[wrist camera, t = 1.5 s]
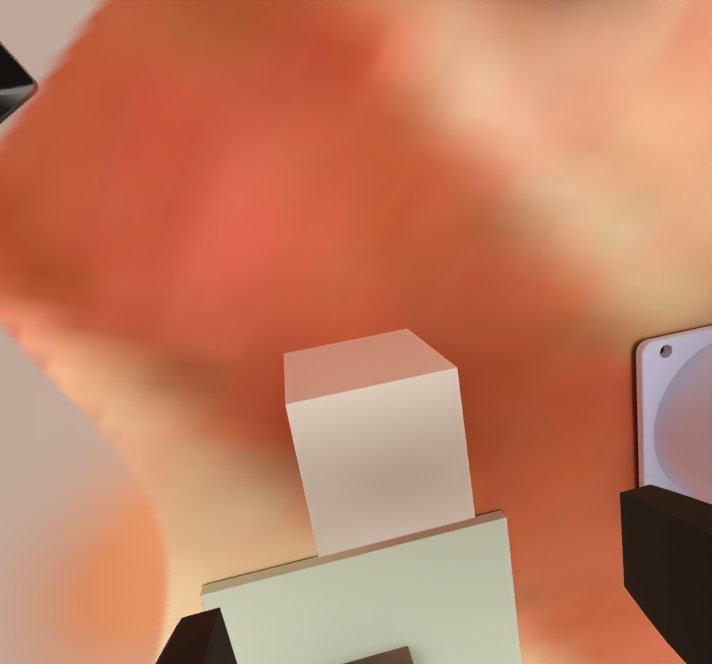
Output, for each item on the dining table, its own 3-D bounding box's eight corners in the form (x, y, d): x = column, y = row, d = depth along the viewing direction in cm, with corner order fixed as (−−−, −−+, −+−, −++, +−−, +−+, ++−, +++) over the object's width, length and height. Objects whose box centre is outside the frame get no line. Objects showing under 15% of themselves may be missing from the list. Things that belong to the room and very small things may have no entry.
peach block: (407, 328, 17) (457, 367, 12) (423, 440, 18) (475, 517, 13) (283, 353, 17) (285, 404, 12) (307, 467, 18) (318, 557, 13)
